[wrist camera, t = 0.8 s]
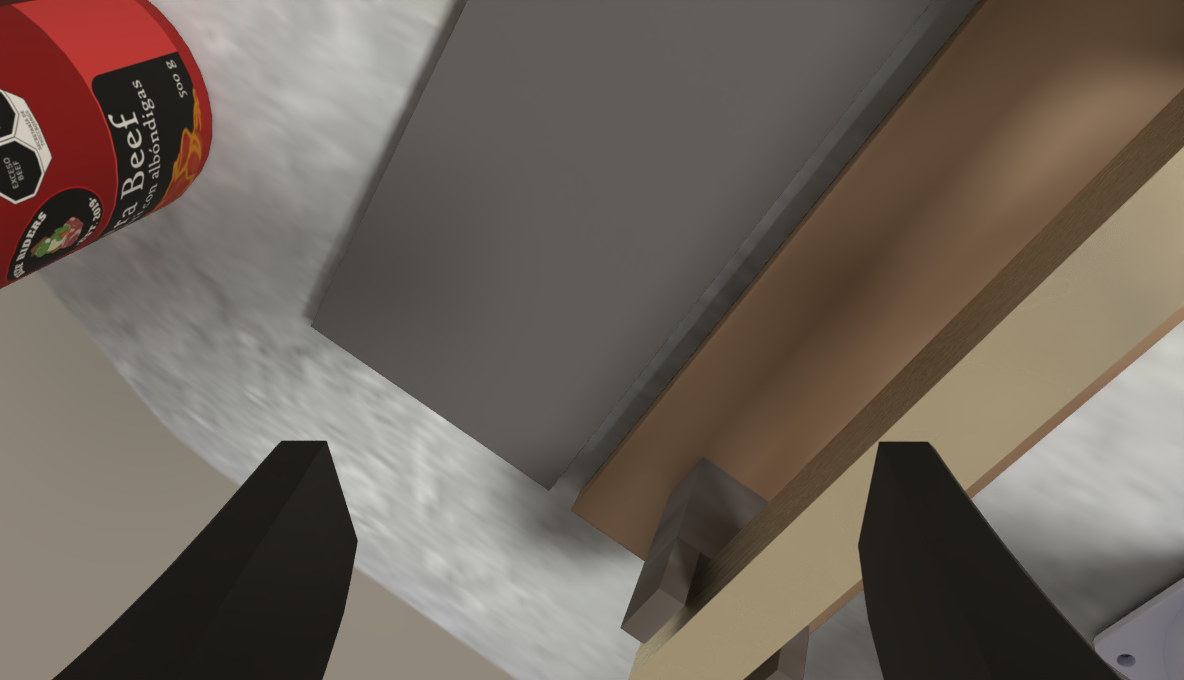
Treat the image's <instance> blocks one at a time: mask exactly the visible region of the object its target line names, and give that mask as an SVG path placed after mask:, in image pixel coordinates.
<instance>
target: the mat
mask: <svg viewBox="0 0 1184 680" xmlns="http://www.w3.org/2000/svg"><path fill="white" fill-rule="evenodd" d="M931 1H932V0H467V2H466V5H465V7H464V9H463V11H462V13H461V15H460V17H459V19H458V21H457V23H456V25H455V27H454V29H453V32H452V34H451V36H450V38H449V40H448V42H447V44H446V46H445V48H444V50H443V52H442V54H441V57H440V59H439V61H438V63H437V65H436V67H435V69H434V71H433V73H432V75H431V77H430V79H429V81H428V84H427V86H426V88H425V90H424V92H423V94H422V96H421V98H420V100H419V102H418V104H417V106H416V108H415V111H414V113H413V115H412V117H411V119H410V121H409V123H408V125H407V127H406V129H405V131H404V133H403V136H402V138H401V140H400V142H399V144H398V146H397V148H396V150H395V152H394V154H393V156H392V158H391V160H390V163H389V165H388V167H387V169H386V171H385V173H384V175H383V177H382V179H381V181H380V183H379V185H378V188H377V190H376V192H375V194H374V196H373V198H372V200H371V202H370V204H369V206H368V208H367V210H366V212H365V215H364V217H363V219H362V221H361V223H360V225H359V227H358V229H357V231H356V233H355V235H354V237H353V239H352V242H351V244H350V246H349V248H348V250H347V252H346V254H345V256H344V258H343V260H342V262H341V264H340V267H339V269H338V271H337V273H336V275H335V277H334V279H333V281H332V283H331V285H330V287H329V289H328V291H327V294H326V296H325V298H324V300H323V302H322V304H321V306H320V308H319V310H318V312H317V314H316V316H315V318H314V321H313V323H312V325H311V327H313V328H314V329H315V330H317V331H318V332H320V333H321V334H323V335H324V336H326V337H327V338H329V339H330V340H331V341H333V342H334V343H336V344H337V345H339V346H340V347H342V348H343V349H344V350H346V351H347V352H349V353H350V354H352V355H353V356H355V357H356V358H358V359H359V360H360V361H362V362H363V363H365V364H366V365H368V366H369V367H371V368H372V369H373V370H375V371H376V372H378V373H379V374H381V375H382V376H384V377H385V378H387V379H388V380H389V381H391V382H392V383H394V384H395V385H397V386H398V387H400V388H401V389H402V390H404V391H405V392H407V393H408V394H410V395H411V396H413V397H414V398H416V399H417V400H418V401H420V402H421V403H423V404H424V405H426V406H427V407H429V408H430V409H431V410H433V411H434V412H436V413H437V414H439V415H440V416H442V417H443V418H445V419H446V420H447V421H449V422H450V423H452V424H453V425H455V426H456V427H458V428H459V429H461V430H462V431H463V432H465V433H466V434H468V435H469V436H471V437H472V438H474V439H475V440H476V441H478V442H479V443H481V444H482V445H484V446H485V447H487V448H488V449H490V450H491V451H492V452H494V453H495V454H497V455H498V456H500V457H501V458H503V459H504V460H505V461H507V462H508V463H510V464H511V465H513V466H514V467H516V468H517V469H519V470H520V471H521V472H523V473H524V474H526V475H527V476H529V477H530V478H532V479H533V480H534V481H536V482H537V483H539V484H540V485H542V486H543V487H545V488H546V489H548V490H550V489H551V488H552V486H553V485H554V484H555V482H556V481H557V480H558V479H559V477H560V476H561V475H562V473H563V472H564V471H565V470H566V468H567V467H568V466H569V464H570V463H571V462H572V461H573V459H574V458H575V457H576V456H577V454H578V453H579V452H580V450H581V449H582V448H583V447H584V445H585V444H586V443H587V441H588V440H589V439H590V438H591V436H592V435H593V434H594V432H595V431H596V430H597V429H598V427H599V426H600V425H601V424H602V422H603V421H604V420H605V418H606V417H607V416H608V415H609V413H610V412H611V411H612V409H613V408H614V407H615V406H616V404H617V403H618V402H619V400H620V399H621V398H622V397H623V395H624V394H625V393H626V392H627V390H628V389H629V388H630V386H631V385H632V384H633V383H634V381H635V380H636V379H637V377H638V376H639V375H640V374H641V372H642V371H643V370H644V368H645V367H646V366H647V365H648V363H649V362H650V361H651V360H652V358H653V357H654V356H655V354H656V353H657V352H658V351H659V349H660V348H661V347H662V345H663V344H664V343H665V342H666V340H667V339H668V338H669V336H670V335H671V334H672V333H673V331H674V330H675V329H676V328H677V326H678V325H679V324H680V322H681V321H682V320H683V319H684V317H685V316H686V315H687V313H688V312H689V311H690V310H691V308H692V307H693V306H694V304H695V303H696V302H697V301H698V299H699V298H700V297H701V296H702V294H703V293H704V292H705V290H706V289H707V288H708V287H709V285H710V284H711V283H712V281H713V280H714V279H715V278H716V276H717V275H718V274H719V272H720V271H721V270H722V269H723V267H724V266H725V265H726V263H727V262H728V261H729V260H730V258H731V257H732V256H733V255H734V253H735V252H736V251H737V249H738V248H739V247H740V246H741V244H742V243H743V242H744V240H745V239H746V238H747V237H748V235H749V234H750V233H751V231H752V230H753V229H754V228H755V226H756V225H757V224H758V223H759V221H760V220H761V219H762V217H763V216H764V215H765V214H766V212H767V211H768V210H769V208H770V207H771V206H772V205H773V203H774V202H775V201H776V199H777V198H778V197H779V196H780V194H781V193H782V192H783V191H784V189H785V188H786V187H787V185H788V184H789V183H790V182H791V180H792V179H793V178H794V176H795V175H796V174H797V173H798V171H799V170H800V169H801V167H802V166H803V165H804V164H805V162H806V161H807V160H808V159H809V157H810V156H811V155H812V153H813V152H814V151H815V150H816V148H817V147H818V146H819V144H820V143H821V142H822V141H823V139H824V138H825V137H826V135H827V134H828V133H829V132H830V130H831V129H832V128H833V127H834V125H835V124H836V123H837V121H838V120H839V119H840V118H841V116H842V115H843V114H844V112H845V111H846V110H847V109H848V107H849V106H850V105H851V103H852V102H853V101H854V100H855V98H856V97H857V96H858V95H859V93H860V92H861V91H862V89H863V88H864V87H865V86H866V84H867V83H868V82H869V80H870V79H871V78H872V77H873V75H874V74H875V73H876V71H877V70H878V69H879V68H880V66H881V65H882V64H883V62H884V61H885V60H886V59H887V57H888V56H889V55H890V54H891V52H892V51H893V50H894V48H895V47H896V46H897V45H898V43H899V42H900V41H901V39H902V38H903V37H904V36H905V34H906V33H907V32H908V30H909V29H910V28H911V27H912V25H913V24H914V23H915V22H916V20H917V19H918V18H919V16H920V15H921V14H922V13H923V11H924V10H925V9H926V7H927V6H928V5H929V4H930V2H931Z"/></svg>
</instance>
